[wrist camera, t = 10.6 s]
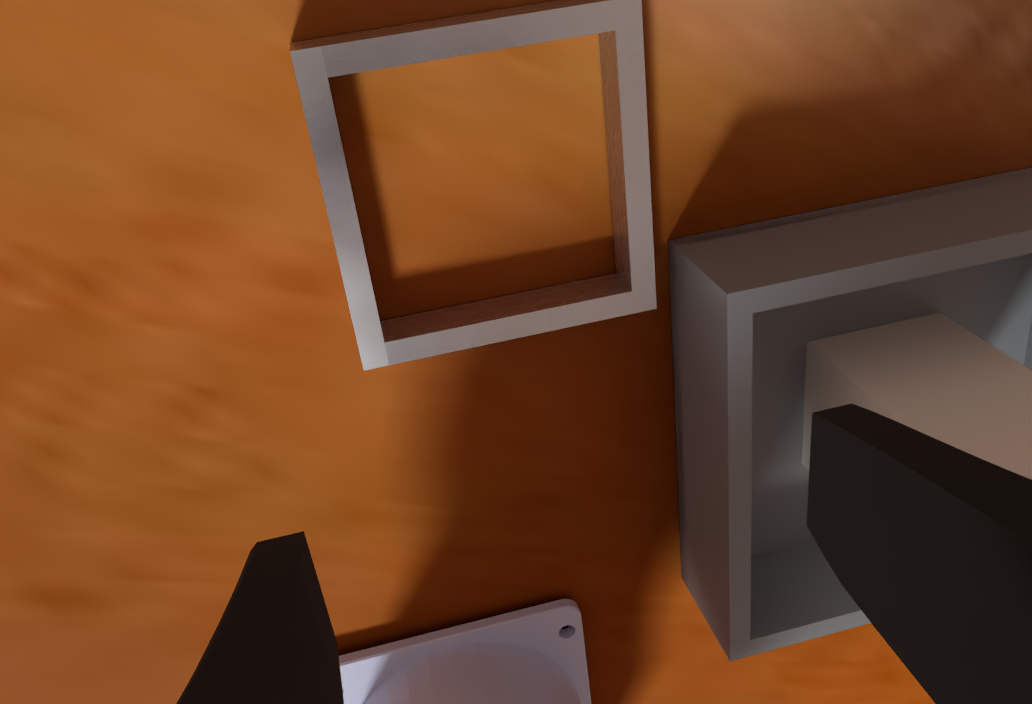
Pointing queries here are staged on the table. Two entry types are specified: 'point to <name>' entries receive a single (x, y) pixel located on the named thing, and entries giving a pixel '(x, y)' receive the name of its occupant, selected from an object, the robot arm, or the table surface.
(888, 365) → the strut
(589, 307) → the steel socket
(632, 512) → the table surface
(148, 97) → the table surface
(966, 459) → the robot arm
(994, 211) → the bin
